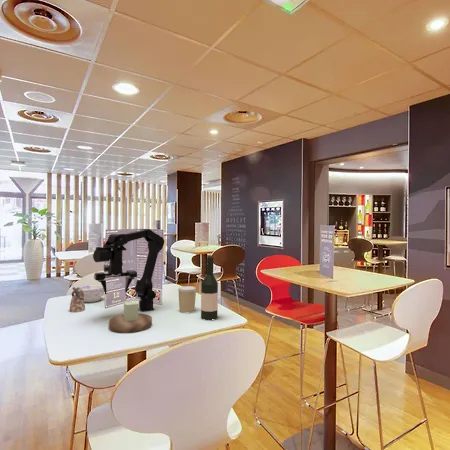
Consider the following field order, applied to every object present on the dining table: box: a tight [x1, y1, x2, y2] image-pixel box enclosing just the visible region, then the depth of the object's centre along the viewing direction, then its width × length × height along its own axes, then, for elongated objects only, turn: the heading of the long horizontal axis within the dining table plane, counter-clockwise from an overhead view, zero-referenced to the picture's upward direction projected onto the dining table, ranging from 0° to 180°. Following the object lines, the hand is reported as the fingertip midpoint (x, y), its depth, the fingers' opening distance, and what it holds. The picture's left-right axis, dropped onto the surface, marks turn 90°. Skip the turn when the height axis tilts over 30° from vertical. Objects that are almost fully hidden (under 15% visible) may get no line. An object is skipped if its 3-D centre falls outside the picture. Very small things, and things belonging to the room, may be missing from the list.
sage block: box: [123, 301, 139, 321], centre depth 133 cm, size 5×5×7 cm
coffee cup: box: [177, 285, 197, 313], centre depth 158 cm, size 9×9×12 cm
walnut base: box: [108, 312, 153, 334], centre depth 133 cm, size 18×18×3 cm
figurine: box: [69, 286, 86, 313], centre depth 156 cm, size 7×7×12 cm
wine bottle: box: [200, 255, 219, 321], centre depth 147 cm, size 8×8×30 cm
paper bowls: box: [79, 284, 105, 303], centre depth 177 cm, size 15×15×8 cm
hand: (115, 293), depth 144 cm, fingers open, 9 cm apart
